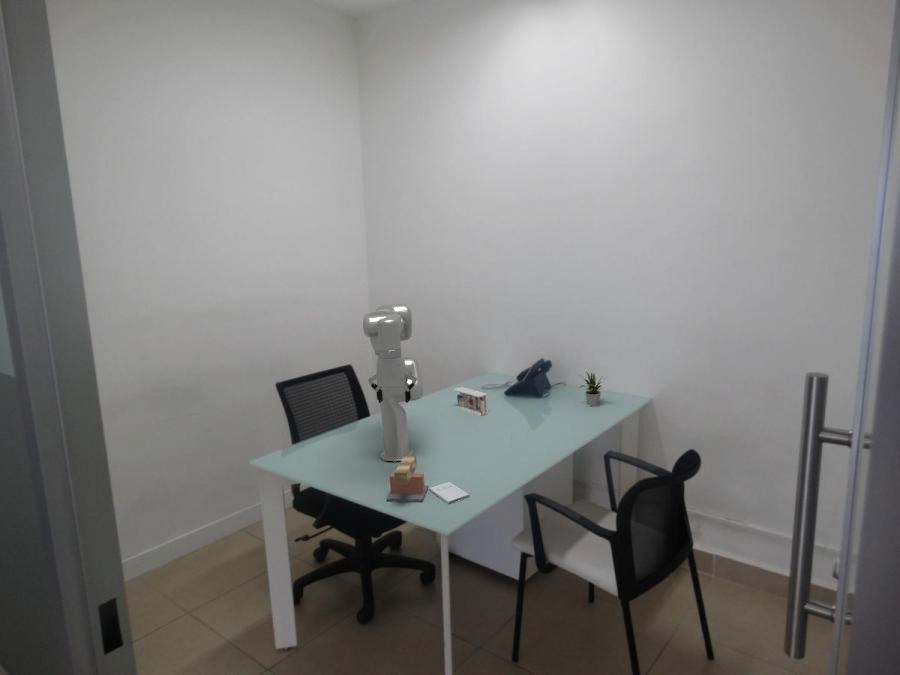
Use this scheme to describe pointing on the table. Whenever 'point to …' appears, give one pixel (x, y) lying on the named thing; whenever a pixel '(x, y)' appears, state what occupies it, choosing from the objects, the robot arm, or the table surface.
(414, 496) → the fulcrum board
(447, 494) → the external hard drive
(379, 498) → the table surface
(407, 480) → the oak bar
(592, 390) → the house plant
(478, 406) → the cigarette display
